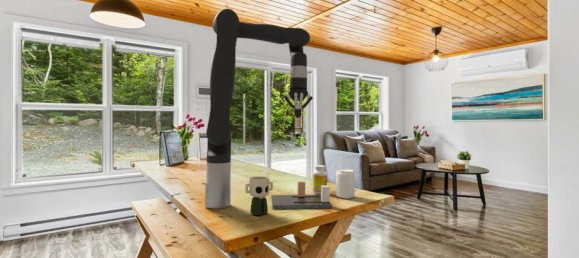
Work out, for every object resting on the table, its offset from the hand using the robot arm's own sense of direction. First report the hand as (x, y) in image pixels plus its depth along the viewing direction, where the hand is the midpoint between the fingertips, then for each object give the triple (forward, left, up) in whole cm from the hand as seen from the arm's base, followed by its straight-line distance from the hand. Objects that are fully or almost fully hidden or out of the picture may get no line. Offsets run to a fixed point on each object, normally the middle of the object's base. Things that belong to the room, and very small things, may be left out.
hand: (297, 117), depth 131 cm
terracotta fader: (+2, -3, -33) cm, 33 cm away
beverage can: (+22, +2, -35) cm, 42 cm away
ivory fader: (+10, -12, -33) cm, 37 cm away
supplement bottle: (+12, +10, -35) cm, 39 cm away
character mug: (-16, -21, -35) cm, 44 cm away
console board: (+1, -7, -35) cm, 36 cm away
